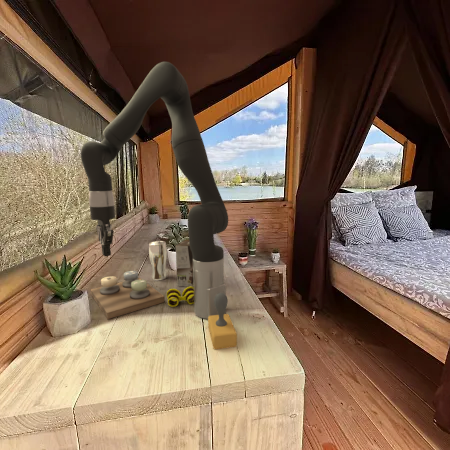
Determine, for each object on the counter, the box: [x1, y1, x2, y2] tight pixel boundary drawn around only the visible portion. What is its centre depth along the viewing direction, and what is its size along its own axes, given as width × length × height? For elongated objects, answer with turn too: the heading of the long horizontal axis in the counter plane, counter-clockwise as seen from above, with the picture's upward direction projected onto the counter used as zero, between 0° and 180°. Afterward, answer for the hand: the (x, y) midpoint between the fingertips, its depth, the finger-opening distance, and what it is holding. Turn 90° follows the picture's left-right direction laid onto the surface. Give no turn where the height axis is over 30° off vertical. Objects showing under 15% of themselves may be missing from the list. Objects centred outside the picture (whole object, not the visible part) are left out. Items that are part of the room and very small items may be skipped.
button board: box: [90, 277, 165, 320], centre depth 94 cm, size 22×18×3 cm
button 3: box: [123, 270, 139, 281], centre depth 100 cm, size 5×5×2 cm
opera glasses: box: [166, 286, 194, 308], centre depth 90 cm, size 10×5×5 cm, turn 106°
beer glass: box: [148, 240, 168, 282], centre depth 111 cm, size 7×7×15 cm
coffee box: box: [175, 240, 194, 288], centre depth 106 cm, size 9×6×16 cm
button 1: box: [100, 275, 118, 287], centre depth 95 cm, size 5×5×2 cm
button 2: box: [131, 279, 148, 291], centre depth 91 cm, size 5×5×2 cm
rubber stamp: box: [207, 293, 238, 350], centre depth 70 cm, size 10×6×12 cm, turn 11°
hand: (106, 255), depth 93 cm, fingers closed
